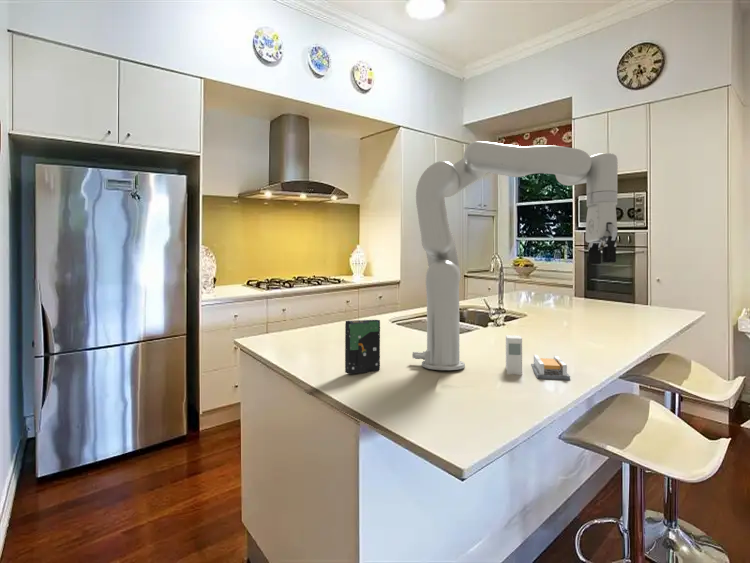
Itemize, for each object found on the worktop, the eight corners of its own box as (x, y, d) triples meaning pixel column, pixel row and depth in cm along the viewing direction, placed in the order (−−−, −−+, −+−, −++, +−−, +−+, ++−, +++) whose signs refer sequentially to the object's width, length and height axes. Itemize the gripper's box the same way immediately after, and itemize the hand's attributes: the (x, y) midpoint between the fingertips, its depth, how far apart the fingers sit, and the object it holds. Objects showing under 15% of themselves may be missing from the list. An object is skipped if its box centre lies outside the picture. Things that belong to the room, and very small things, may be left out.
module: (507, 374, 123) (507, 338, 123) (505, 369, 130) (505, 335, 130) (522, 374, 122) (522, 338, 122) (520, 369, 129) (520, 335, 129)
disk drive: (375, 369, 130) (375, 318, 130) (380, 370, 128) (380, 319, 128) (344, 373, 125) (344, 320, 125) (348, 374, 122) (348, 321, 122)
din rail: (537, 378, 117) (537, 364, 117) (531, 367, 133) (531, 354, 133) (570, 380, 115) (570, 365, 115) (559, 368, 131) (559, 355, 131)
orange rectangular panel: (544, 368, 119) (544, 365, 119) (539, 361, 130) (539, 358, 130) (560, 369, 118) (560, 365, 118) (553, 362, 129) (553, 358, 129)
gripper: (576, 206, 130) (576, 264, 130) (599, 194, 112) (599, 261, 112) (603, 205, 129) (603, 264, 129) (631, 194, 112) (630, 261, 112)
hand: (601, 263), depth 121 cm, fingers open, 9 cm apart
